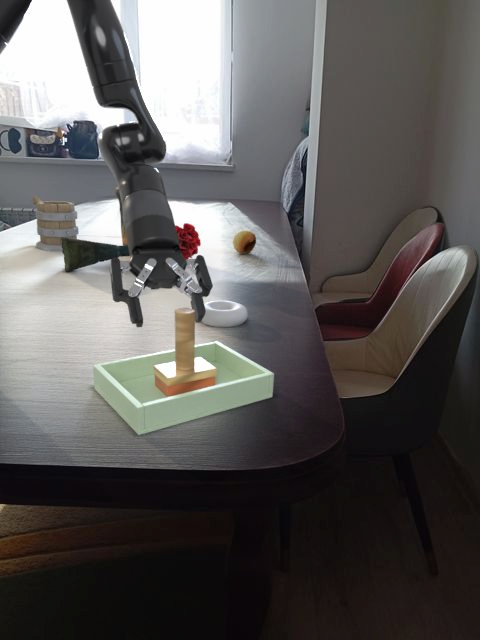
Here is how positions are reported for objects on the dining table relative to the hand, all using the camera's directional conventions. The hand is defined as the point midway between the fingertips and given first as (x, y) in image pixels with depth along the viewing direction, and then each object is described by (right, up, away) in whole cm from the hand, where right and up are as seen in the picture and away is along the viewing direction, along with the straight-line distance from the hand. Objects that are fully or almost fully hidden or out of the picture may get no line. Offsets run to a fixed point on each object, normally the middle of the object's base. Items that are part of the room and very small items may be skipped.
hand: (170, 322), depth 72 cm
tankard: (-55, +30, +94) cm, 113 cm away
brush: (+2, -9, -2) cm, 9 cm away
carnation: (-22, +17, +65) cm, 71 cm away
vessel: (-26, +27, +91) cm, 98 cm away
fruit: (+7, +28, +98) cm, 102 cm away
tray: (+2, -10, -2) cm, 10 cm away
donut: (+5, +2, +29) cm, 29 cm away
